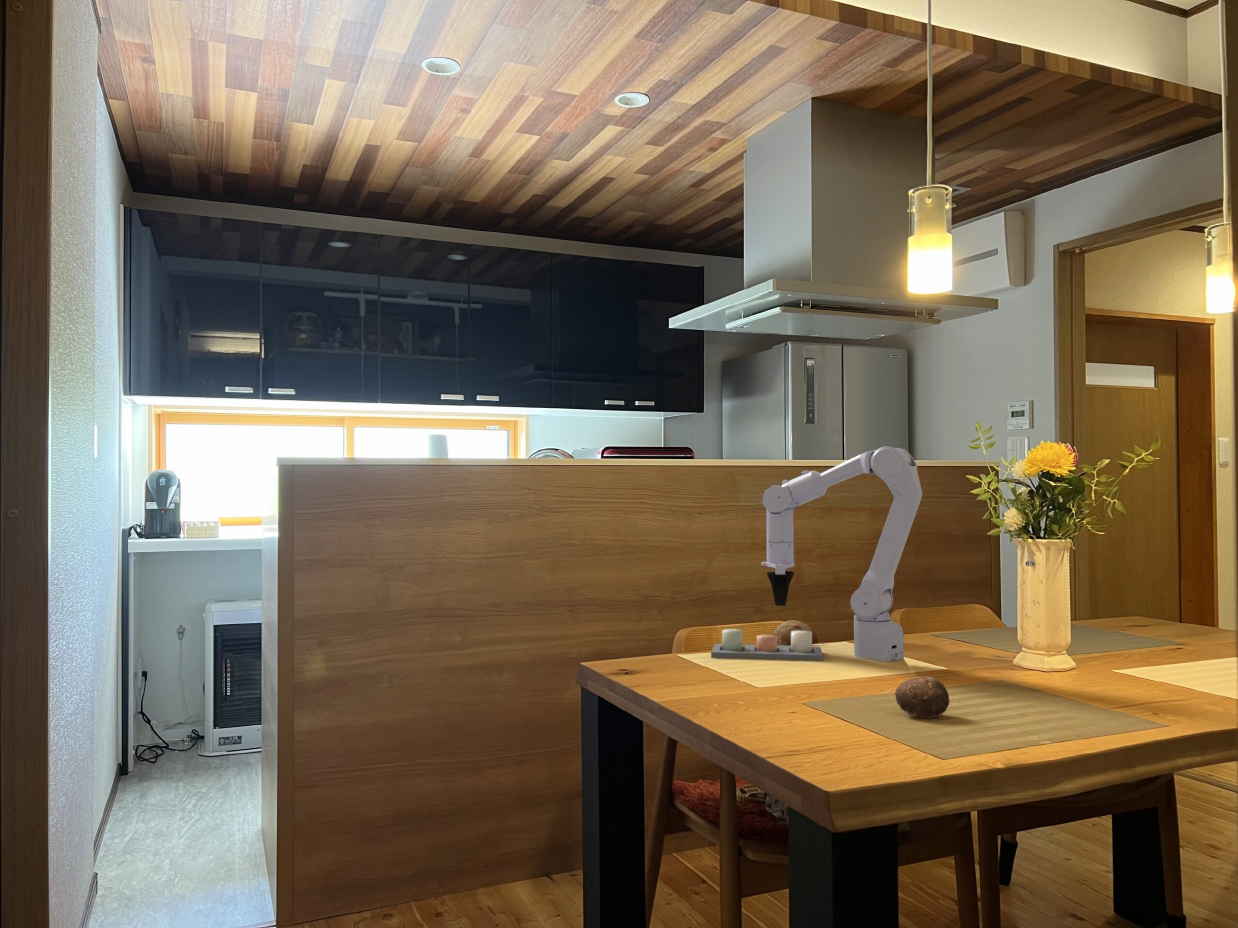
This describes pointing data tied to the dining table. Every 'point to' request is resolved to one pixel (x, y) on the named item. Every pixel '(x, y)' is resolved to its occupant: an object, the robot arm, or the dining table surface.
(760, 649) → the button terracotta
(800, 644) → the button ivory
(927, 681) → the brown rough oval lump
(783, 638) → the bread roll
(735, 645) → the button sage
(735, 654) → the grey rectangular tray
